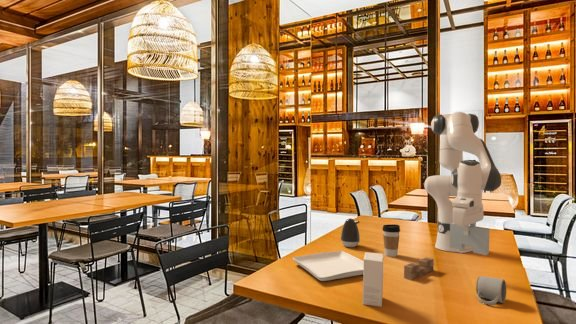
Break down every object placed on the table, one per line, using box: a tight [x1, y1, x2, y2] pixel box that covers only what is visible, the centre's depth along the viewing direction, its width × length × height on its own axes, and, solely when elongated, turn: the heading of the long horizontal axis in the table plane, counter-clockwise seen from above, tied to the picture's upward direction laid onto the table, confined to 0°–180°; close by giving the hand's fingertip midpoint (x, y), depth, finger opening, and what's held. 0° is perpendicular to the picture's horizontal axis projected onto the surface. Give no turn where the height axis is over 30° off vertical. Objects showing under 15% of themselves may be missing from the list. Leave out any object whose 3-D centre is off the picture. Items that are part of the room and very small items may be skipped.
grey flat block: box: [450, 223, 490, 256], centre depth 136 cm, size 14×3×10 cm, turn 39°
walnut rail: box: [403, 256, 435, 281], centre depth 140 cm, size 18×3×5 cm, turn 129°
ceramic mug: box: [475, 276, 507, 306], centre depth 115 cm, size 11×8×8 cm
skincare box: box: [362, 251, 384, 308], centre depth 114 cm, size 8×7×16 cm
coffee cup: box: [382, 224, 401, 258], centre depth 166 cm, size 8×8×15 cm
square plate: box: [292, 250, 364, 282], centre depth 146 cm, size 27×27×4 cm
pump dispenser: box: [340, 218, 361, 248], centre depth 183 cm, size 10×10×15 cm
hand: (468, 234), depth 136 cm, fingers closed on grey flat block, 3 cm apart
